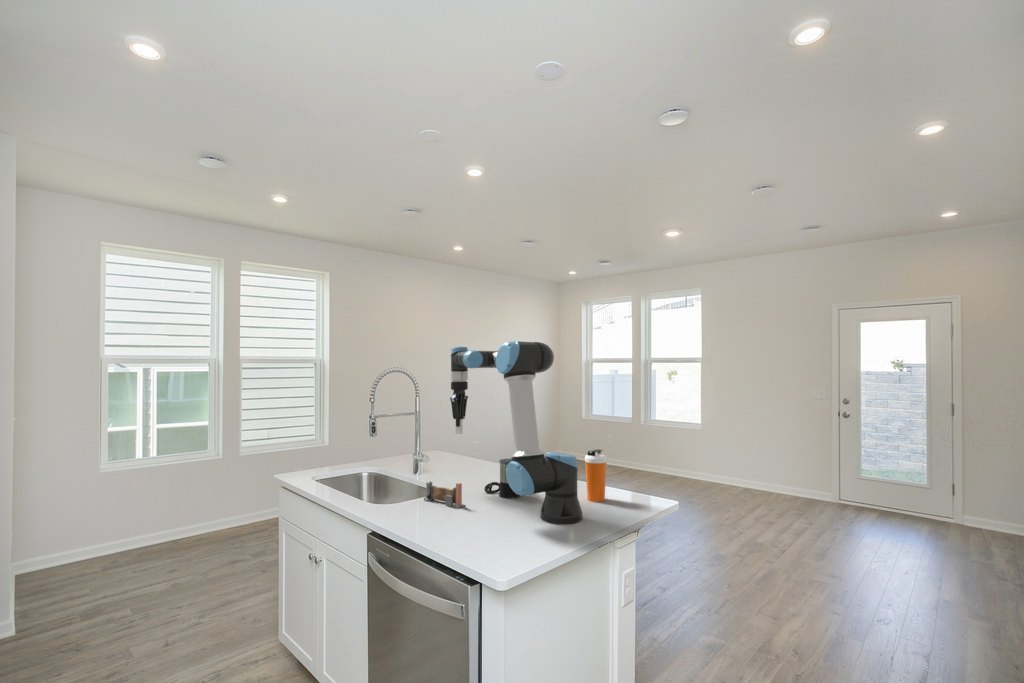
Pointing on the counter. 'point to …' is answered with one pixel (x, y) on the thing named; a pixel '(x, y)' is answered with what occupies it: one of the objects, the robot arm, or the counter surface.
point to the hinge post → (428, 492)
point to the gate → (442, 493)
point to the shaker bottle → (595, 475)
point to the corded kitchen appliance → (502, 482)
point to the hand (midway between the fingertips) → (459, 433)
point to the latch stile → (458, 497)
